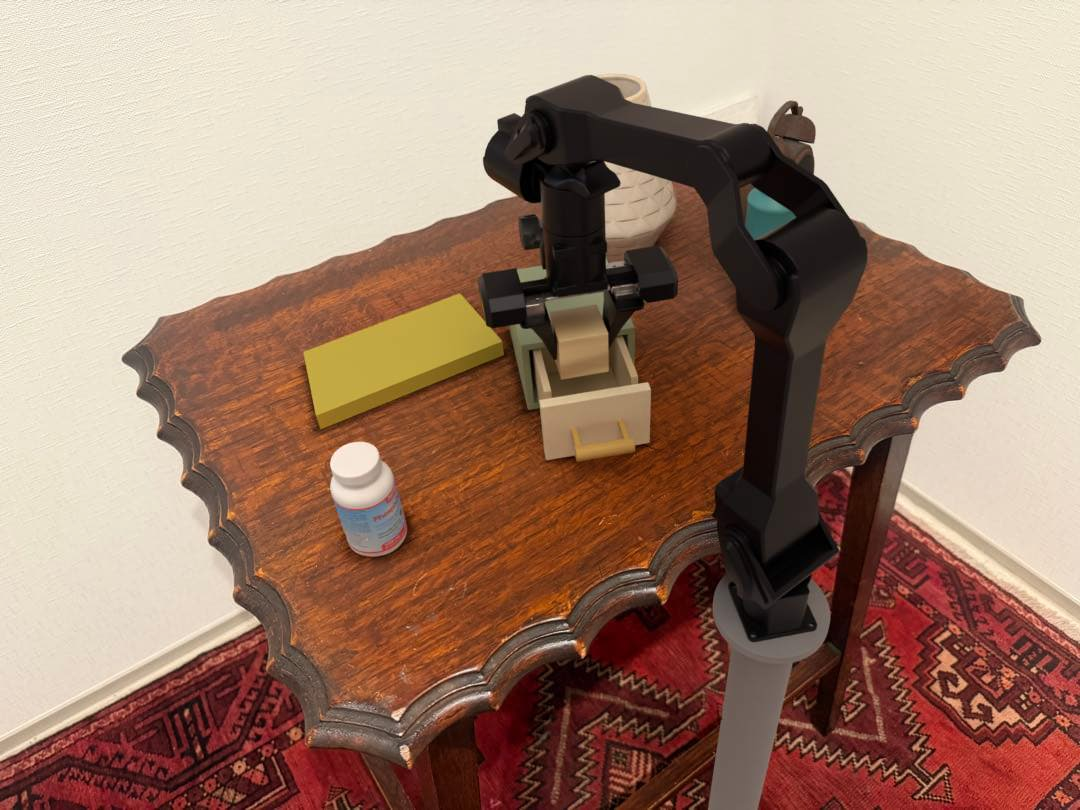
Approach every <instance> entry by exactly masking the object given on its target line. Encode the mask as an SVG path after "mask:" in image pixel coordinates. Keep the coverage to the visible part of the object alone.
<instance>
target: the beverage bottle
mask: <svg viewBox="0 0 1080 810" xmlns="http://www.w3.org/2000/svg"><path fill="white" fill-rule="evenodd" d="M788 158H789V157H788ZM789 159H791V158H789ZM791 160H792V161H794V160H793V159H791ZM794 162H795V161H794ZM795 163H796V162H795ZM747 201H748V204H747V213H746V223H745V227H746V229H747V230H748V232H749V233H750V235H751V236H752V238H753V239H754V240H755V239H757V238H758V237H760V236H762V235H764V234H766V233H768V232H770V231H772V230H774V229H776V228H778V227H780V226H782V225H783V224H785V223H787V222H789V221H791V220H793V219H795V218H796V216H795V215H794V213H793V212H791V211H790V210H788V209H787V208H785V207H784V206H782V205H781V204H779V203H777V202H776V201H774V200H773V199H771V198H770V197H768V196H767V195H765V194H764V193H762V192H760V191H759V190H757V189H756V188H754V189H753V190H752V191H750V193H749V194H748V197H747Z"/></svg>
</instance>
